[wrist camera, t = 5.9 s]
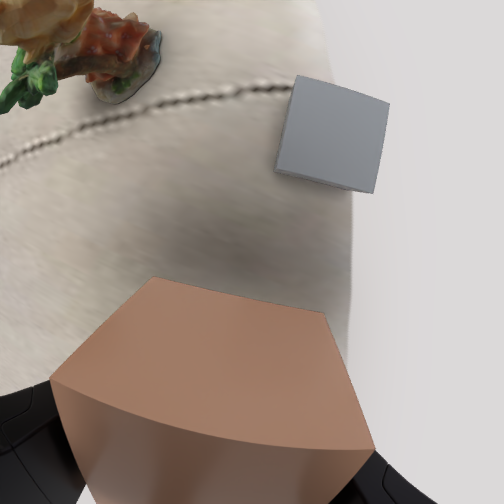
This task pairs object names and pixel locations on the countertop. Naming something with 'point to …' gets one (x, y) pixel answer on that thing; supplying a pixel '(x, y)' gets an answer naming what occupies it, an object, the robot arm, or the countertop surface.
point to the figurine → (74, 50)
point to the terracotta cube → (211, 403)
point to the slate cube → (332, 135)
